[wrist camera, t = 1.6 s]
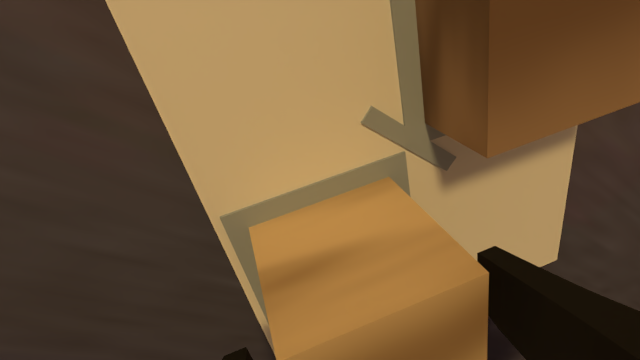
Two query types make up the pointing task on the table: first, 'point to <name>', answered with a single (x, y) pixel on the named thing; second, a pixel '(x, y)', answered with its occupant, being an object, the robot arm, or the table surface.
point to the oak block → (369, 281)
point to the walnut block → (525, 66)
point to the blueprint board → (327, 123)
